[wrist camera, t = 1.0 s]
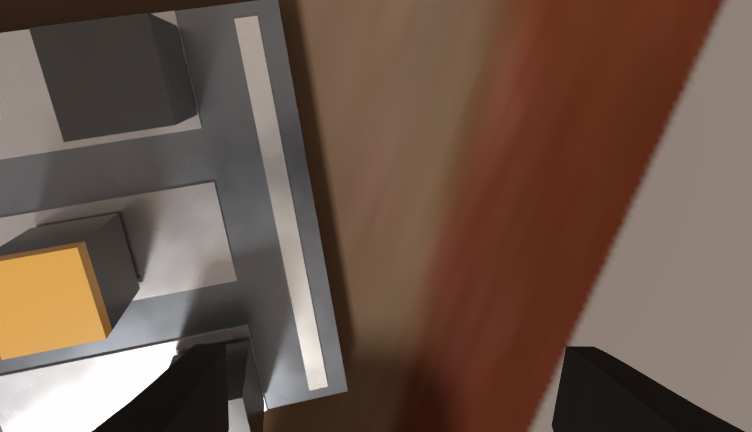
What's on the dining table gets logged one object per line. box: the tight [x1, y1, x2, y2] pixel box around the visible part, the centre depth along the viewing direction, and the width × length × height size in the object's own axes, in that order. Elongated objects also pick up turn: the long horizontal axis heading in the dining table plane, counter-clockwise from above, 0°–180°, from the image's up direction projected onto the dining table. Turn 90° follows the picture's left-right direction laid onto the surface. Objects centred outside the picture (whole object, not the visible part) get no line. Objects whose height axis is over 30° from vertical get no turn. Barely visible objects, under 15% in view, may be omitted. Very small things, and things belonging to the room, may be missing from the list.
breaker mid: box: [0, 213, 140, 360], centre depth 17 cm, size 3×3×4 cm
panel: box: [0, 0, 348, 432], centre depth 18 cm, size 17×16×6 cm
